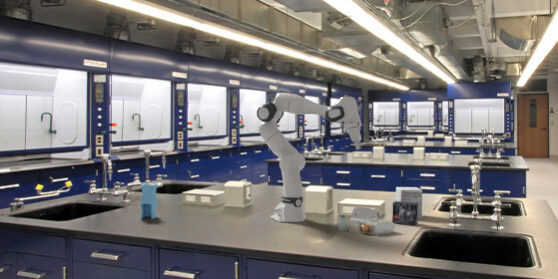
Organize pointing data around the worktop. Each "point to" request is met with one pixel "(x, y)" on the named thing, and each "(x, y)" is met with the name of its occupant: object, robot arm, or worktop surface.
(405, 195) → the supplement box
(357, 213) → the hinge
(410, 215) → the small box
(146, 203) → the blue tower block
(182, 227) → the worktop surface
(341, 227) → the pump canister
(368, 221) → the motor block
